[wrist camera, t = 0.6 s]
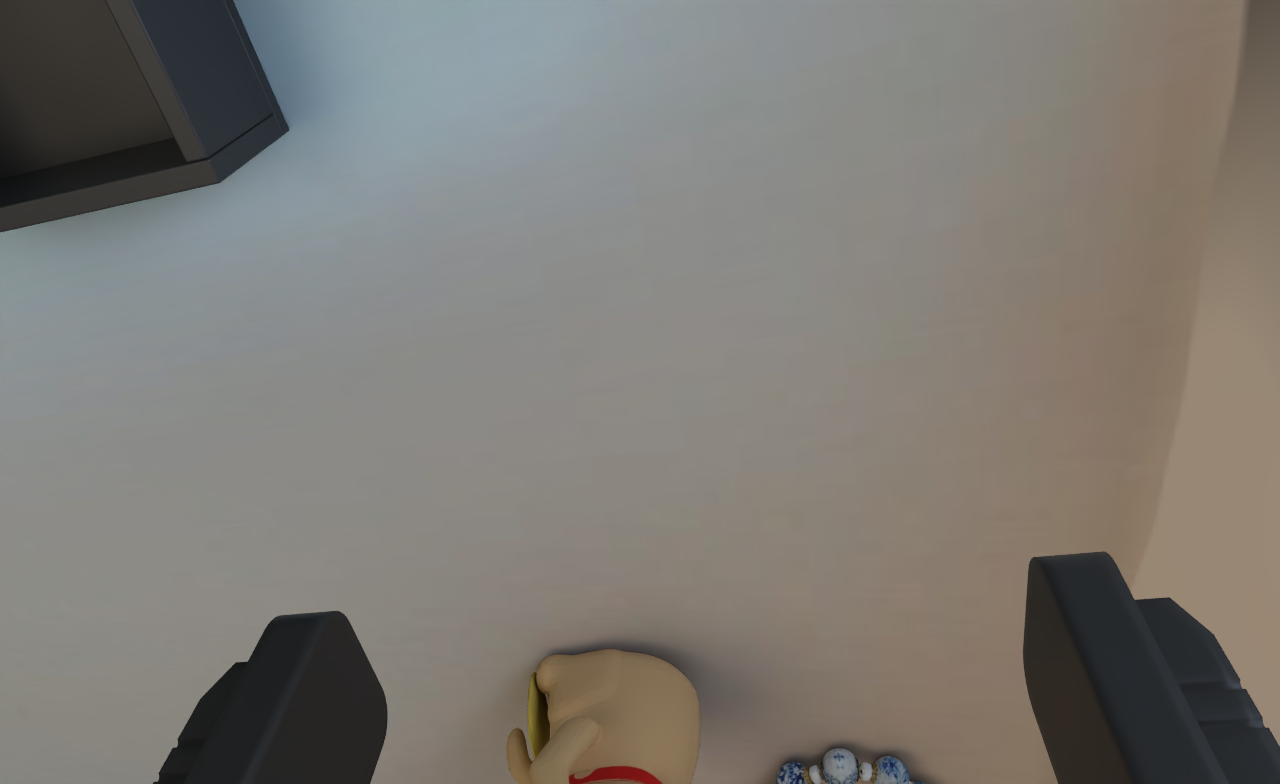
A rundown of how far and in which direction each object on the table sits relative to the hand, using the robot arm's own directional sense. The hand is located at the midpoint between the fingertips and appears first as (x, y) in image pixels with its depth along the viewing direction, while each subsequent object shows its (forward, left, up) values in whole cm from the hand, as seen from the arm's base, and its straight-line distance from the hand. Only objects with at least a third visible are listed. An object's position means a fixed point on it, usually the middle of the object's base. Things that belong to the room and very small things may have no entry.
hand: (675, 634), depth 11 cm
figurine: (+28, -11, -25) cm, 39 cm away
